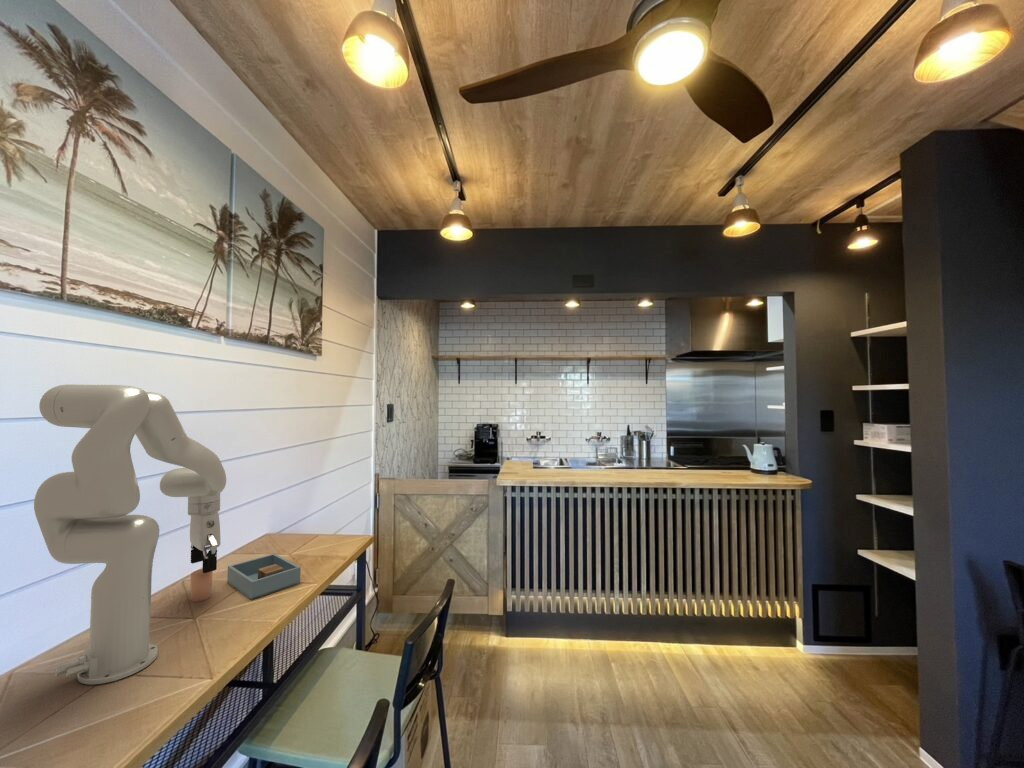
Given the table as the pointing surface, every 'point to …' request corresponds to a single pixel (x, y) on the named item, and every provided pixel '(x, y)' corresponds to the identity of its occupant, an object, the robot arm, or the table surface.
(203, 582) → the salmon orange cylinder
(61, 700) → the table surface
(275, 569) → the walnut cube
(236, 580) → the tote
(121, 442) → the robot arm
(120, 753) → the table surface
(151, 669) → the table surface
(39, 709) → the table surface
